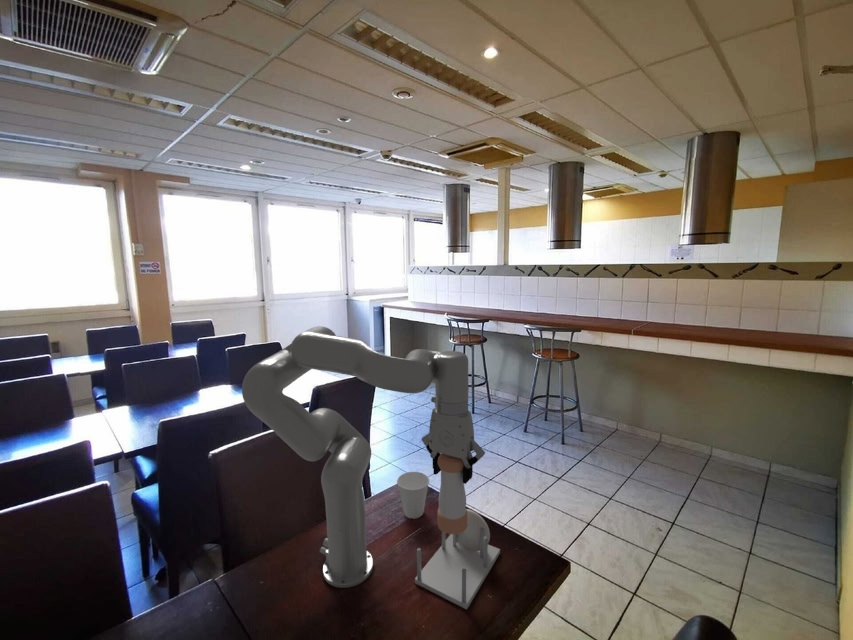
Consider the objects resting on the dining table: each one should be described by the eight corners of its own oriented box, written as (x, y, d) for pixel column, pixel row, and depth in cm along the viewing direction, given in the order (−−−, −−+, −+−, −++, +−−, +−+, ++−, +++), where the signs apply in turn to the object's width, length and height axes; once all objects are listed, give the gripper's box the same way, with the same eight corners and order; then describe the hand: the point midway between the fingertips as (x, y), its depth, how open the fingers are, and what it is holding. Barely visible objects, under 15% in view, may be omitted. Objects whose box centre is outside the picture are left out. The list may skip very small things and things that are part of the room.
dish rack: (414, 583, 97) (414, 537, 95) (453, 534, 113) (453, 494, 111) (466, 609, 89) (467, 561, 87) (499, 553, 106) (501, 511, 104)
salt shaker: (464, 513, 101) (464, 442, 98) (470, 533, 94) (470, 457, 90) (435, 515, 100) (435, 444, 97) (439, 535, 93) (438, 459, 90)
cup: (416, 528, 116) (415, 493, 114) (390, 515, 122) (390, 482, 120) (436, 510, 124) (435, 478, 122) (411, 499, 130) (410, 468, 128)
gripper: (411, 403, 93) (412, 473, 96) (480, 418, 84) (479, 495, 87) (427, 394, 99) (428, 460, 102) (493, 406, 91) (492, 478, 93)
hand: (452, 475), depth 95 cm, fingers closed on salt shaker, 7 cm apart
